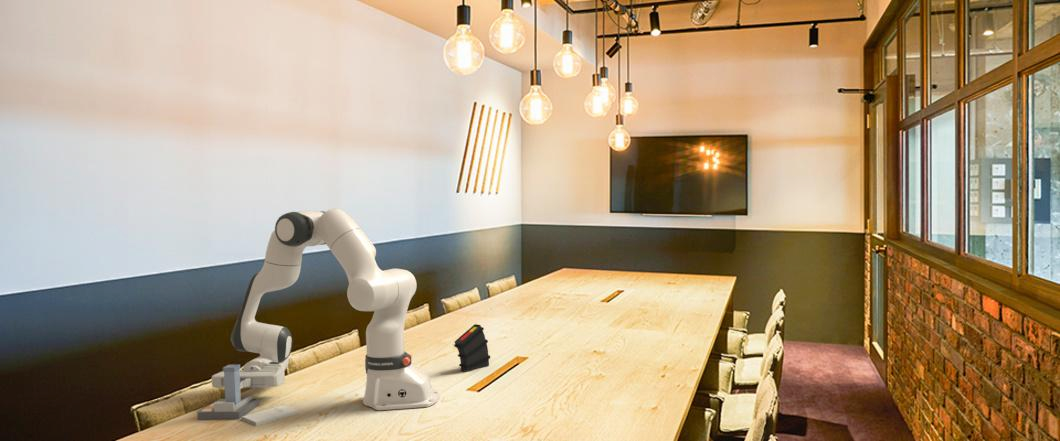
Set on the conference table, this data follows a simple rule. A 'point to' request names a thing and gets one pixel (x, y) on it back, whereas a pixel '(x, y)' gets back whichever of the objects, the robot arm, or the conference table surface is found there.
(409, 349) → the conference table surface
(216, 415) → the grey stepped square base
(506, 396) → the conference table surface
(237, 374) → the switch tab
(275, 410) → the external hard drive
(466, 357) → the magazine
